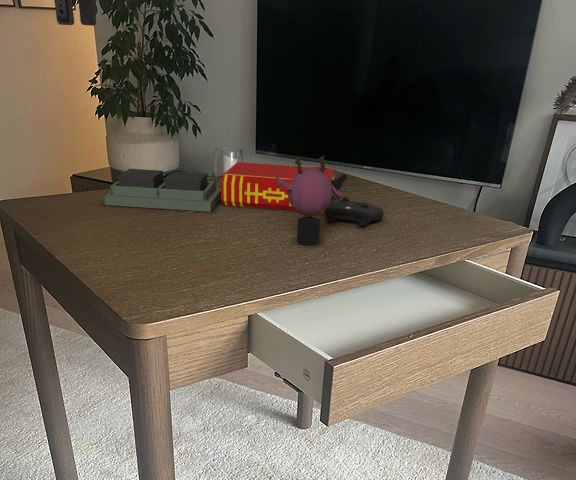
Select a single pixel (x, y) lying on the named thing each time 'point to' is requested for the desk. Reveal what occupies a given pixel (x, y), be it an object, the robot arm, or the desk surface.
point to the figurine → (311, 198)
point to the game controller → (353, 211)
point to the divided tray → (164, 197)
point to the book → (260, 185)
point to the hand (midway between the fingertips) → (77, 25)
